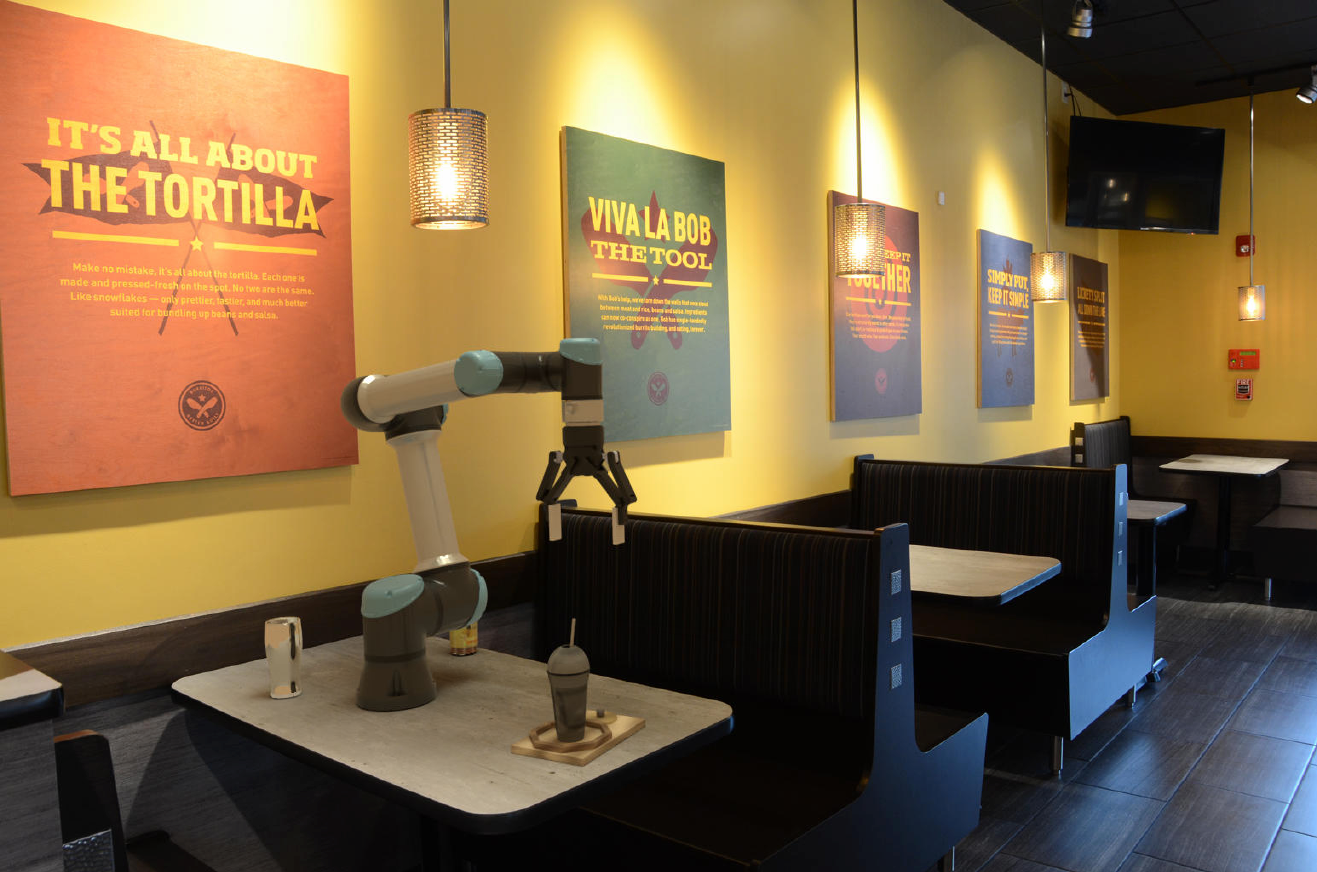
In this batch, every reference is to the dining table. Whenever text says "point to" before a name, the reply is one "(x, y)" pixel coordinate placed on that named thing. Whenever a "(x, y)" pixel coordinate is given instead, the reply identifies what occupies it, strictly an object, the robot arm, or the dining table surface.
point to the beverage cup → (569, 690)
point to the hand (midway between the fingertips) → (586, 541)
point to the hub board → (598, 738)
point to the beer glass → (284, 654)
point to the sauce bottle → (464, 639)
